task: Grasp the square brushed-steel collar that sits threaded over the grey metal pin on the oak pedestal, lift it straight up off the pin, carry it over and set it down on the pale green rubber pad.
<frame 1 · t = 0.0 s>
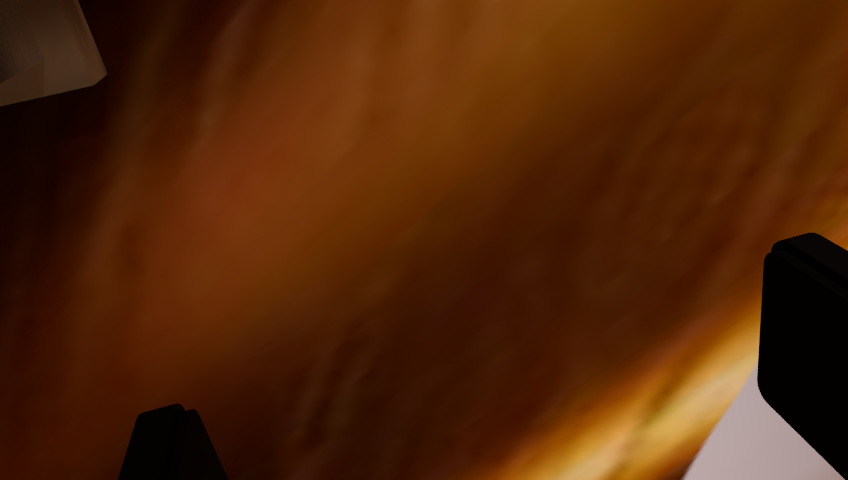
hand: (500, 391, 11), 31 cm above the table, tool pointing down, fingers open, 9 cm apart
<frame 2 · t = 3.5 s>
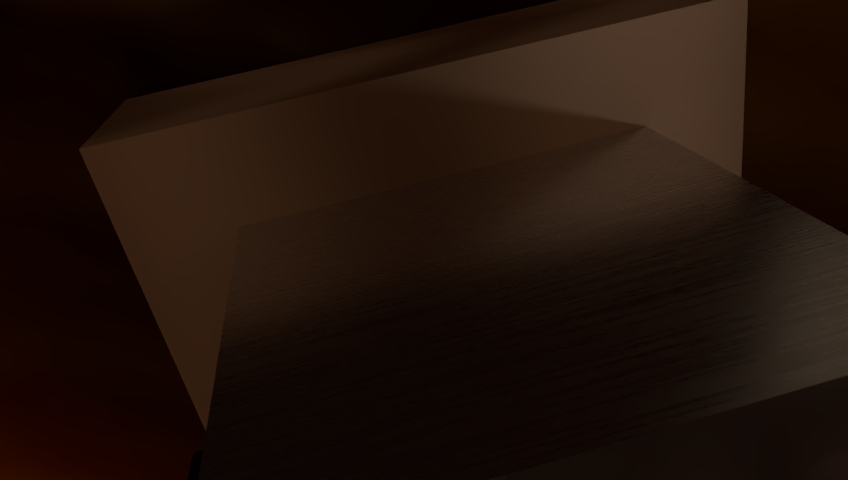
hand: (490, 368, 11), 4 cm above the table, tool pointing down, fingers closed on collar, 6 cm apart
collar: (479, 344, 12), point 3 cm above the table, touching gripper, peg stand
peg stand: (443, 268, 14), on the table
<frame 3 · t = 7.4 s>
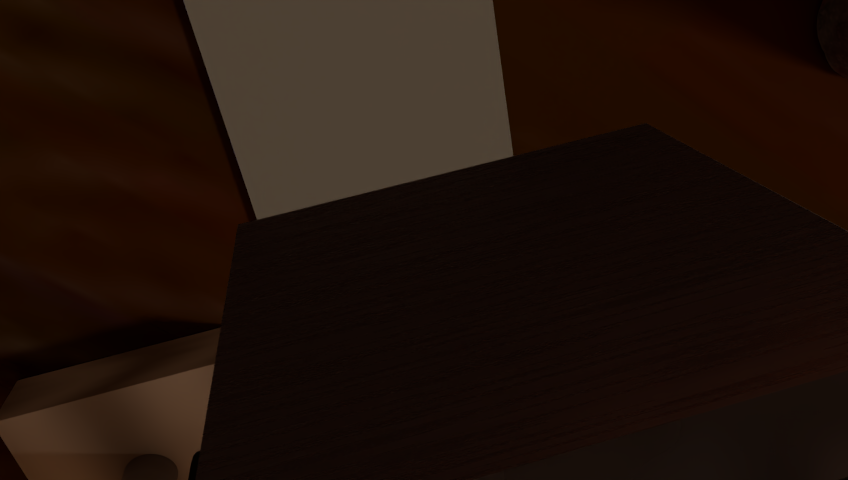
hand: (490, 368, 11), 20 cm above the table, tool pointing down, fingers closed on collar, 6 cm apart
collar: (478, 342, 12), point 19 cm above the table, touching gripper
peg stand: (162, 430, 34), on the table
rubber pad: (367, 102, 28), on the table
when the fingers open (2 cm above the table, at t = 11.3 s): collar drops 1 cm, resting on rubber pad.
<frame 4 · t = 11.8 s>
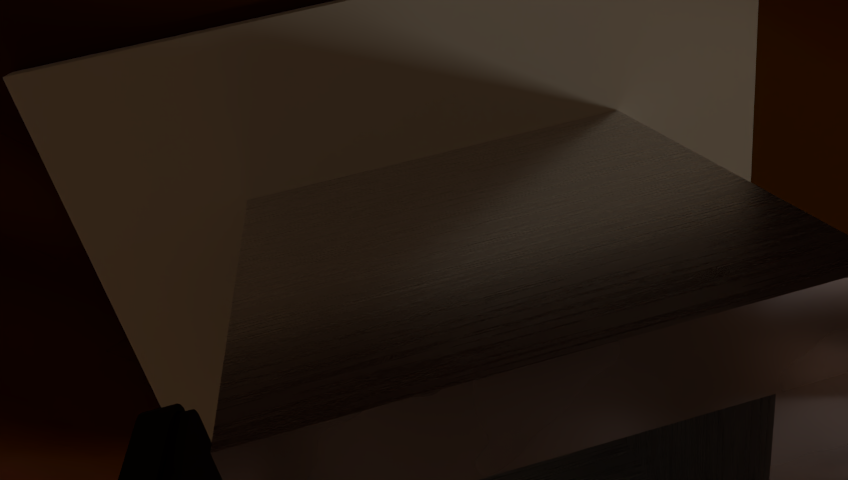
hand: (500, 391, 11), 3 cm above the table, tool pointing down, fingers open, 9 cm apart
collar: (466, 312, 13), resting on rubber pad
rubber pad: (458, 301, 13), on the table
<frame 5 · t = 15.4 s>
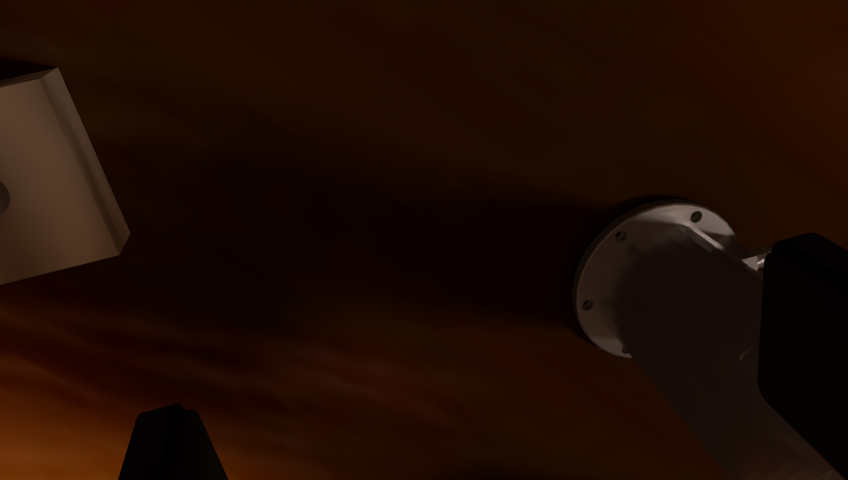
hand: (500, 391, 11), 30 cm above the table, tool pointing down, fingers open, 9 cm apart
peg stand: (6, 176, 37), on the table
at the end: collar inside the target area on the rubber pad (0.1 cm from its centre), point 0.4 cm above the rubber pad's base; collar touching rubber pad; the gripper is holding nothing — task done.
